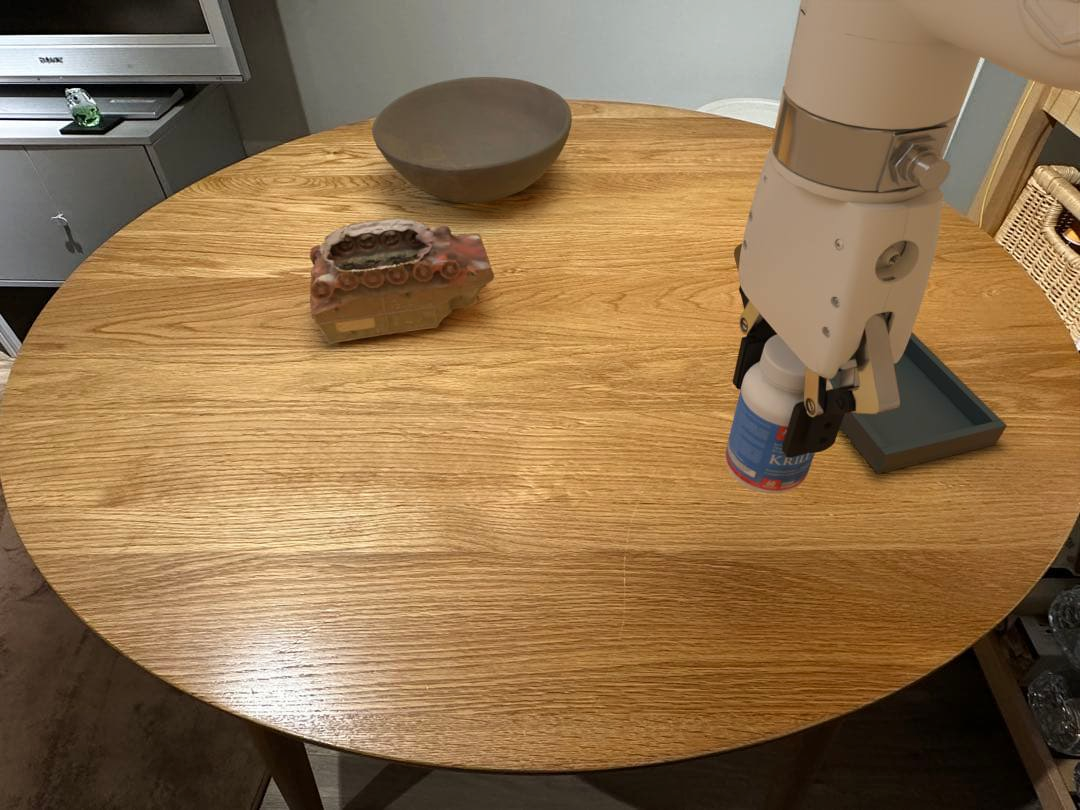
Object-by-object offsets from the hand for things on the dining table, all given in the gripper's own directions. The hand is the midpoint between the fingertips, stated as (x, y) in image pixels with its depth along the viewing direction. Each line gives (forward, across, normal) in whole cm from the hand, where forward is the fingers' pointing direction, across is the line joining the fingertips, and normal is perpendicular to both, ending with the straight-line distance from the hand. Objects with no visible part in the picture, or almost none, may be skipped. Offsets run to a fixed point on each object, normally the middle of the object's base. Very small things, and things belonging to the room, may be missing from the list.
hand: (780, 412), depth 48 cm
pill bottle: (+5, 0, 0) cm, 5 cm away
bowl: (+19, +70, +4) cm, 72 cm away
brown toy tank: (+19, +44, +18) cm, 51 cm away
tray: (+19, +14, -24) cm, 34 cm away
